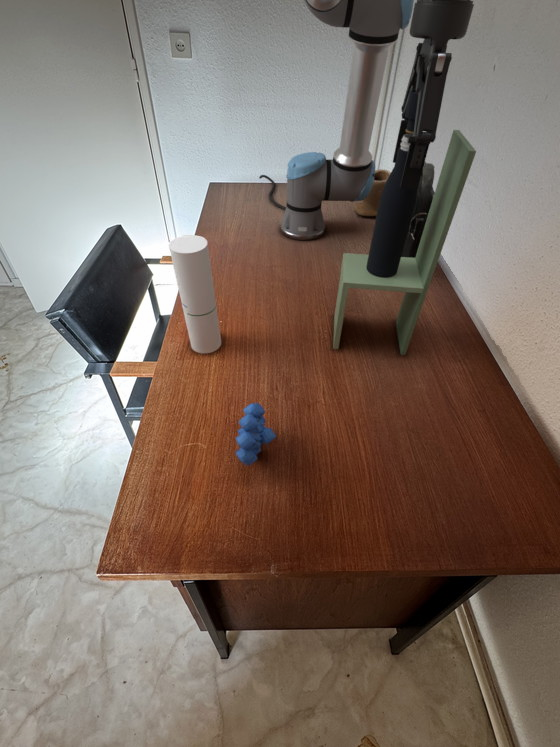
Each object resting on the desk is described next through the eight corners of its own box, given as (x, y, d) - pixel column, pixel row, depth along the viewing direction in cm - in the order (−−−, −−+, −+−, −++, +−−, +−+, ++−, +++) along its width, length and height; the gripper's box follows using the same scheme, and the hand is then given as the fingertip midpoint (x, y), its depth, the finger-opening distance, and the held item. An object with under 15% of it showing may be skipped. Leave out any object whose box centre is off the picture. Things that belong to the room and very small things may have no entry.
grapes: (270, 485, 63) (269, 446, 54) (231, 479, 64) (225, 440, 55) (281, 429, 71) (282, 388, 62) (246, 424, 72) (243, 383, 63)
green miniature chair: (334, 317, 95) (361, 125, 65) (399, 323, 94) (459, 129, 63) (333, 348, 87) (364, 145, 56) (405, 355, 86) (476, 151, 55)
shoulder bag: (417, 284, 106) (451, 180, 86) (385, 281, 107) (411, 177, 87) (409, 246, 122) (436, 150, 101) (381, 244, 122) (402, 149, 102)
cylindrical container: (209, 329, 91) (192, 231, 73) (227, 343, 88) (215, 244, 70) (185, 343, 88) (161, 243, 70) (203, 357, 84) (183, 257, 66)
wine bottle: (397, 279, 75) (447, 96, 53) (365, 275, 76) (402, 94, 54) (397, 263, 79) (443, 88, 57) (366, 260, 80) (401, 86, 58)
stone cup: (356, 221, 135) (364, 176, 124) (353, 207, 143) (359, 165, 132) (398, 221, 134) (409, 177, 124) (392, 208, 143) (401, 165, 132)
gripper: (405, -5, 57) (377, 152, 73) (431, -2, 40) (387, 201, 56) (455, -4, 57) (416, 153, 72) (502, -1, 40) (438, 204, 55)
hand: (404, 174), depth 64 cm, fingers open, 12 cm apart
